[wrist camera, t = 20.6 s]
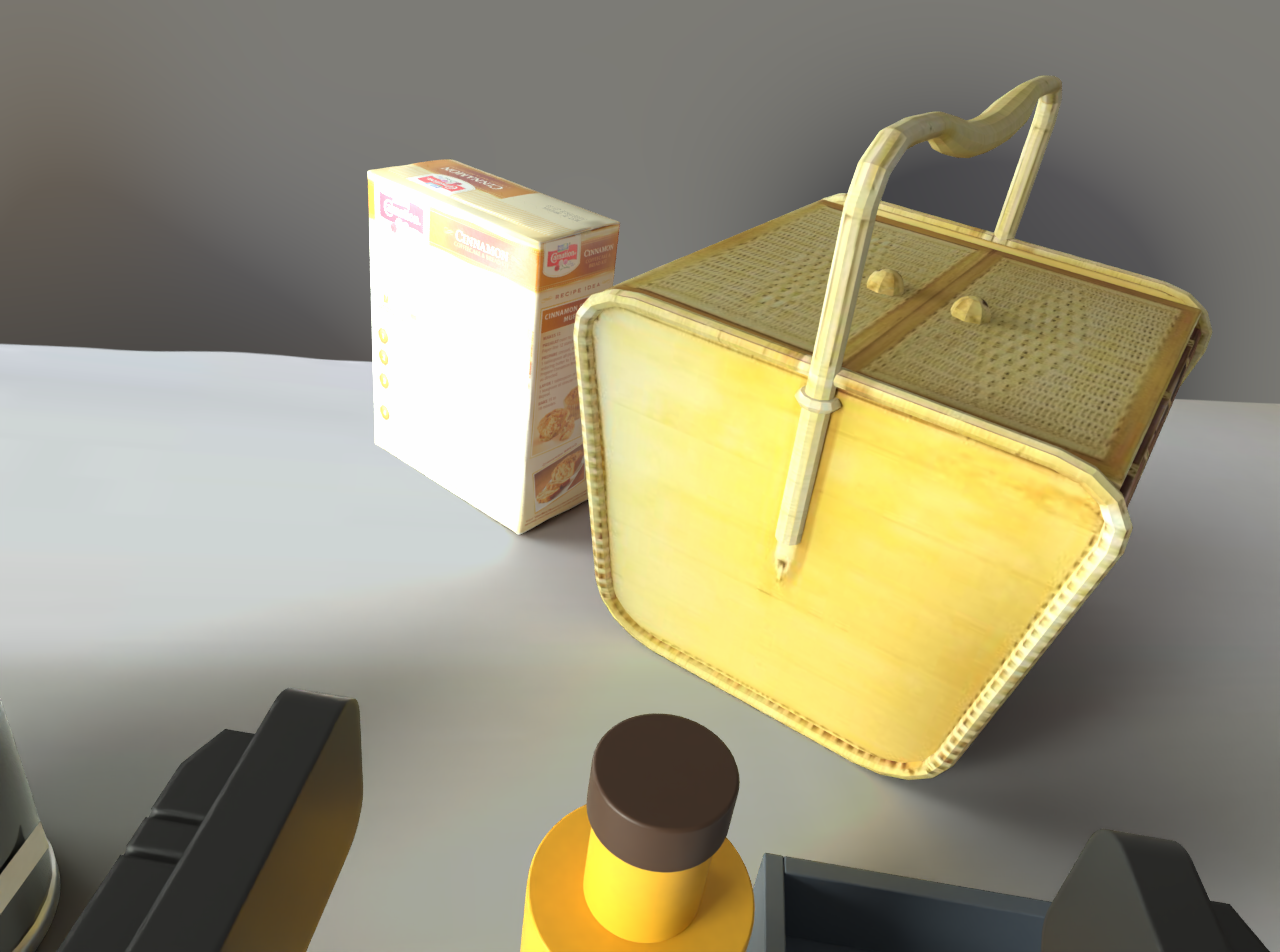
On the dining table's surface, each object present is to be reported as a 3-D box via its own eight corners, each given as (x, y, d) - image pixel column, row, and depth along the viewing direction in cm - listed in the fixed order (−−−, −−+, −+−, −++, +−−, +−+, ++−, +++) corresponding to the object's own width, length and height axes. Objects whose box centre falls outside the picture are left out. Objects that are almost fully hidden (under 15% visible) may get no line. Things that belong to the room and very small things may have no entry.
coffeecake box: (593, 499, 66) (625, 220, 55) (517, 539, 61) (538, 242, 50) (447, 414, 73) (452, 154, 63) (370, 444, 68) (362, 167, 58)
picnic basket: (765, 436, 76) (857, 27, 60) (1096, 575, 65) (1315, 121, 49) (531, 618, 55) (578, 55, 39) (968, 870, 44) (1283, 233, 28)
